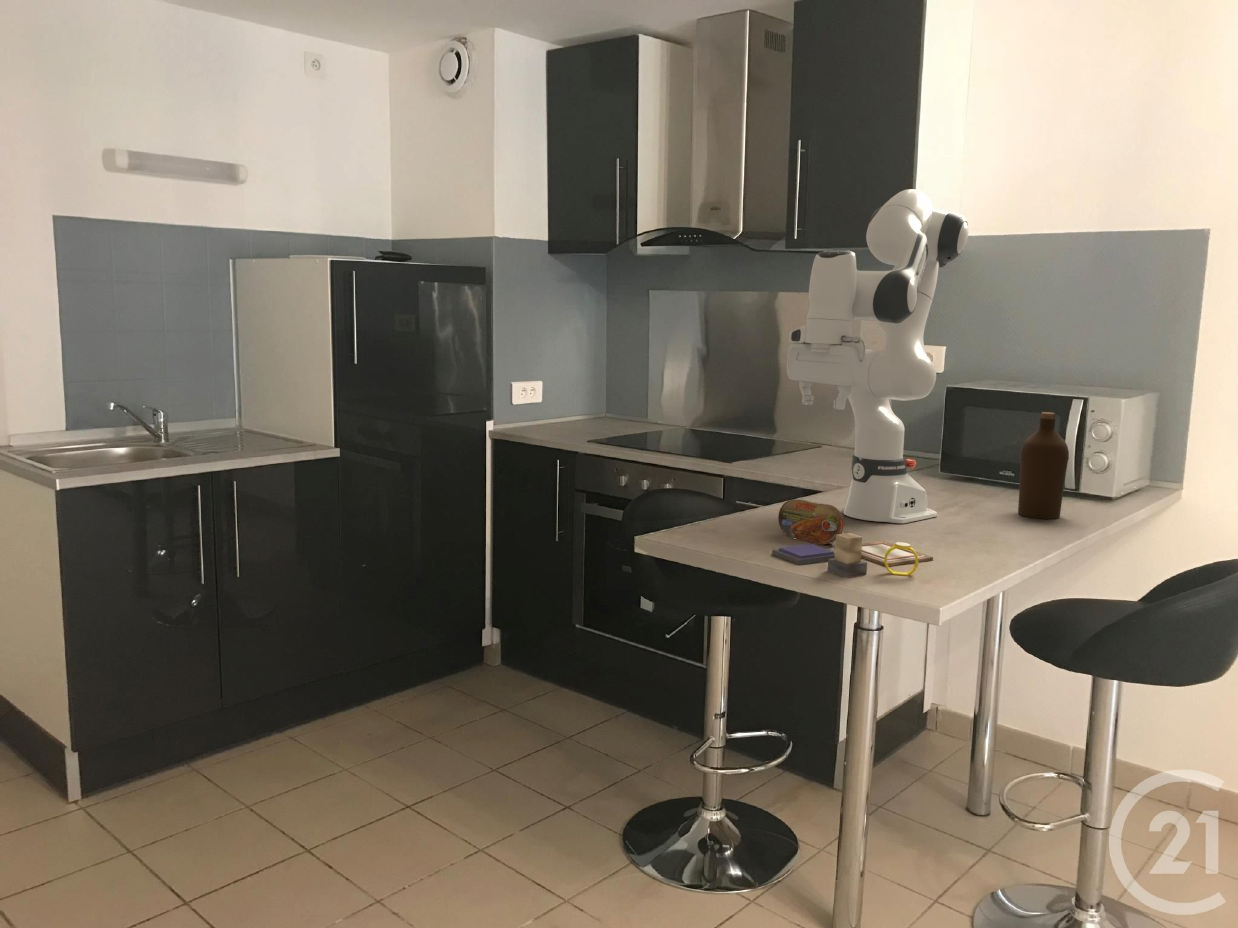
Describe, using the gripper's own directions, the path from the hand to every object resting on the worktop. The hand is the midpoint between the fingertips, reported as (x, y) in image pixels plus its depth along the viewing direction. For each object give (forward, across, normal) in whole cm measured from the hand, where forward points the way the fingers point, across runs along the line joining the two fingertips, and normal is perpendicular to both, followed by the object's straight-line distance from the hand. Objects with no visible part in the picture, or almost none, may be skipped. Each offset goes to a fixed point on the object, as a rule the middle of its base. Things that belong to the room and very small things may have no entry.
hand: (822, 406), depth 190 cm
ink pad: (+30, -1, +2) cm, 30 cm away
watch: (+30, -18, -7) cm, 35 cm away
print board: (+29, -6, -14) cm, 33 cm away
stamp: (+30, -13, +2) cm, 32 cm away
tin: (+30, +10, -8) cm, 32 cm away
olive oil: (+27, +9, -77) cm, 82 cm away
